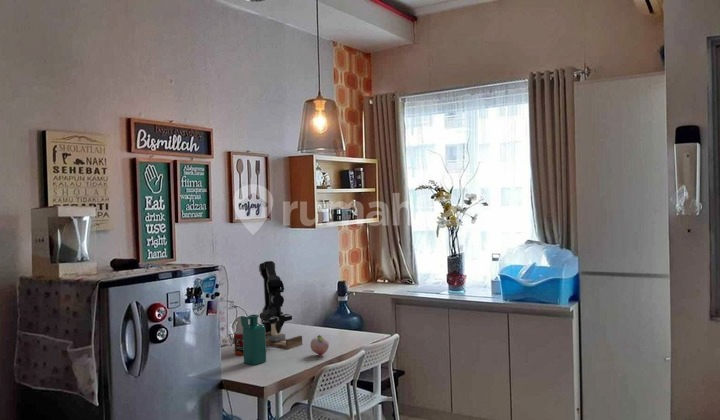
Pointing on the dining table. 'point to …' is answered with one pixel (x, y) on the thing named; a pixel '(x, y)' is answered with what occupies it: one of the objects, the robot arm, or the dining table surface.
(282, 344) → the base
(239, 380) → the dining table surface
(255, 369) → the dining table surface
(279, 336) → the handle
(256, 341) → the pitcher
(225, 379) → the dining table surface
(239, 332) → the canned food
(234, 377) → the dining table surface
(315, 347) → the decorative fruit
